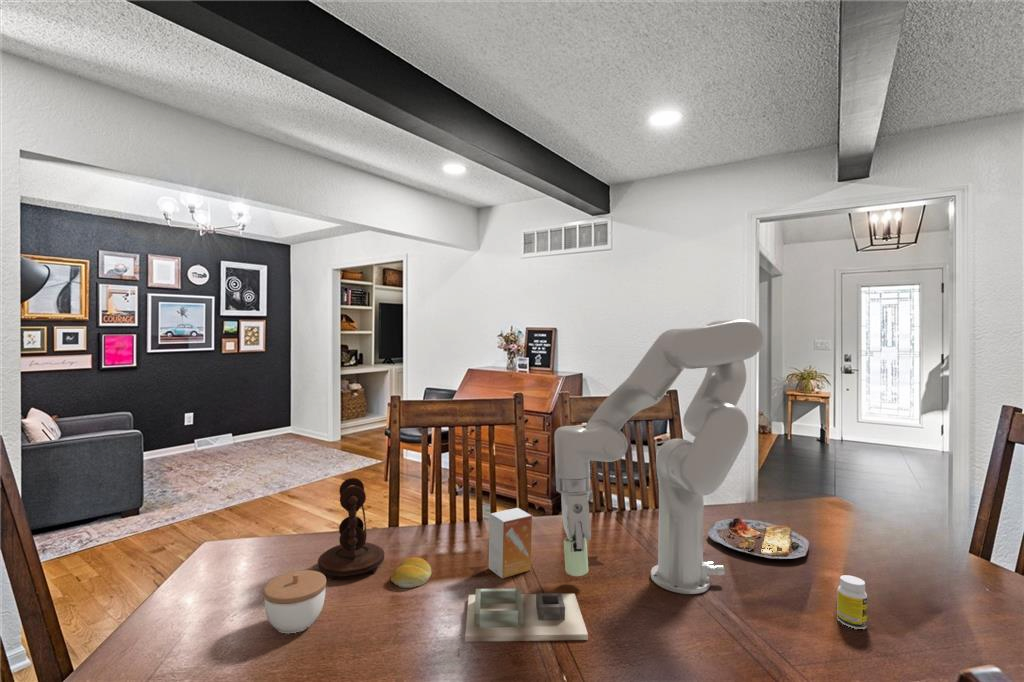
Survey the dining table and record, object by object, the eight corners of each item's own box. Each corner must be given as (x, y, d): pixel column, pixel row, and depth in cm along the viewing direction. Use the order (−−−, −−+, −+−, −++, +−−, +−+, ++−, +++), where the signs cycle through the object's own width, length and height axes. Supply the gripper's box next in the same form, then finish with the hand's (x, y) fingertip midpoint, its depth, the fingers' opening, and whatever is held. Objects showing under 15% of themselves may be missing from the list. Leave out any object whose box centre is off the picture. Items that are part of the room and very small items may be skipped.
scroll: (387, 576, 111) (388, 488, 111) (316, 587, 106) (317, 494, 106) (381, 549, 125) (381, 471, 124) (318, 558, 120) (319, 476, 119)
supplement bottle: (867, 633, 91) (868, 588, 91) (837, 625, 94) (838, 581, 94) (865, 621, 95) (866, 578, 95) (836, 613, 98) (837, 571, 98)
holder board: (574, 598, 102) (574, 581, 102) (587, 639, 88) (588, 620, 88) (468, 599, 101) (468, 582, 101) (465, 641, 87) (465, 622, 87)
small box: (502, 579, 110) (503, 521, 110) (487, 568, 115) (488, 513, 115) (531, 570, 114) (532, 514, 114) (516, 560, 120) (517, 506, 120)
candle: (562, 574, 107) (560, 537, 107) (568, 564, 111) (566, 528, 111) (585, 577, 105) (583, 539, 105) (590, 566, 110) (588, 530, 109)
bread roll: (385, 587, 106) (386, 569, 106) (402, 568, 115) (402, 551, 115) (422, 591, 105) (422, 573, 105) (436, 572, 114) (436, 554, 114)
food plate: (722, 518, 149) (722, 507, 149) (812, 539, 135) (812, 526, 135) (699, 549, 128) (700, 536, 128) (802, 577, 115) (803, 562, 115)
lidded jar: (281, 607, 98) (281, 560, 97) (334, 609, 97) (335, 562, 97) (251, 641, 87) (251, 588, 87) (311, 643, 87) (311, 590, 86)
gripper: (597, 493, 100) (600, 583, 101) (583, 472, 116) (585, 549, 117) (561, 495, 100) (564, 585, 100) (551, 473, 116) (554, 551, 116)
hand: (576, 565), depth 108 cm, fingers closed on candle
